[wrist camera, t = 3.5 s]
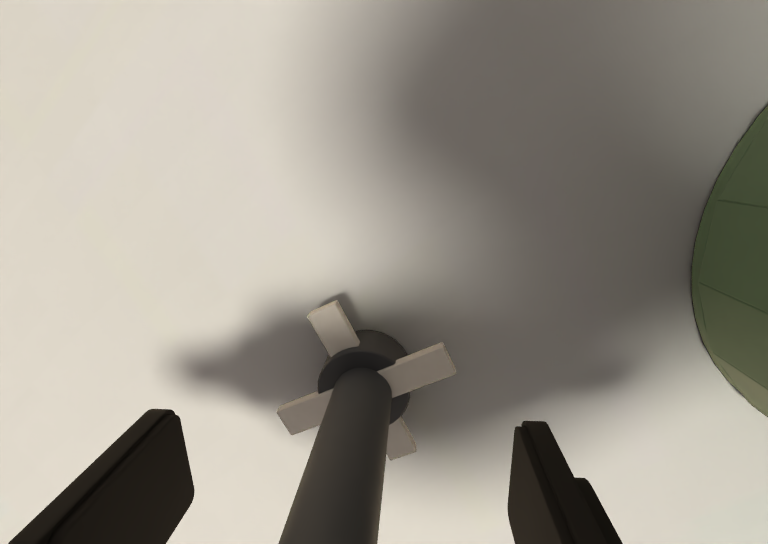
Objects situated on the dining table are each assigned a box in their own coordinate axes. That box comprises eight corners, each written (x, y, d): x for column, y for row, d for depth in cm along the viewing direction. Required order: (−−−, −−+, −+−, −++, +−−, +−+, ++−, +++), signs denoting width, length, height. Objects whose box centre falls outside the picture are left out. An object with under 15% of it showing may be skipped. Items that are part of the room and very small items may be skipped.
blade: (256, 328, 15) (61, 541, 7) (409, 260, 13) (397, 420, 5) (335, 456, 16) (253, 757, 8) (479, 405, 15) (553, 703, 7)
